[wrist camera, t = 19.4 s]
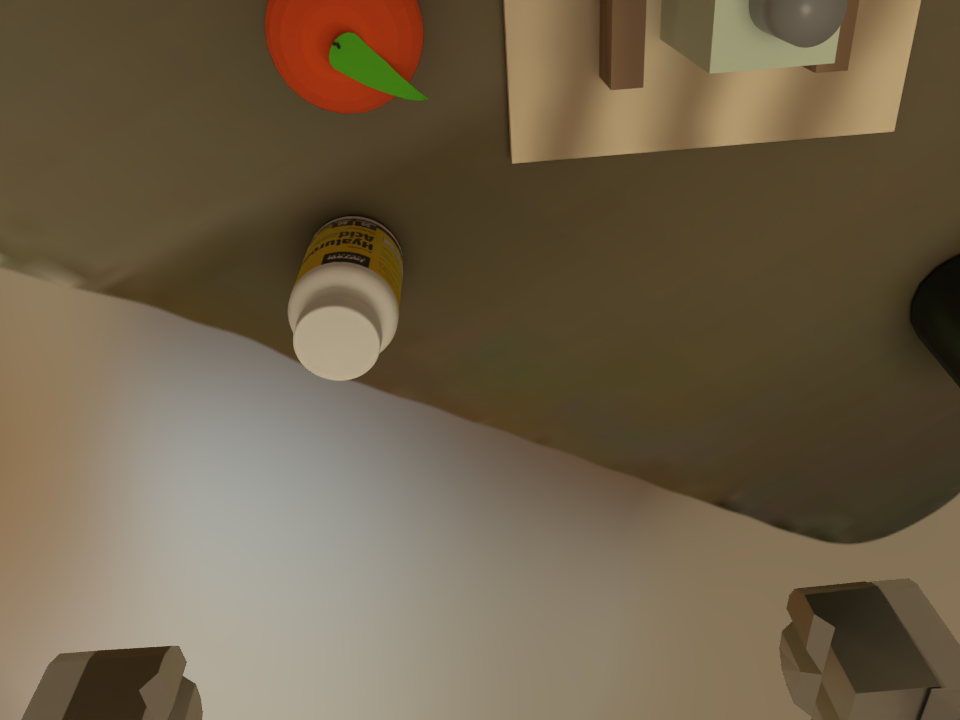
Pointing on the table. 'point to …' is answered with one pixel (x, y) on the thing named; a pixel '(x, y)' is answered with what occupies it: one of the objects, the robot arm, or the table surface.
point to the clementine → (346, 50)
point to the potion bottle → (941, 316)
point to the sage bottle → (753, 32)
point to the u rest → (686, 82)
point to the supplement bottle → (346, 298)
